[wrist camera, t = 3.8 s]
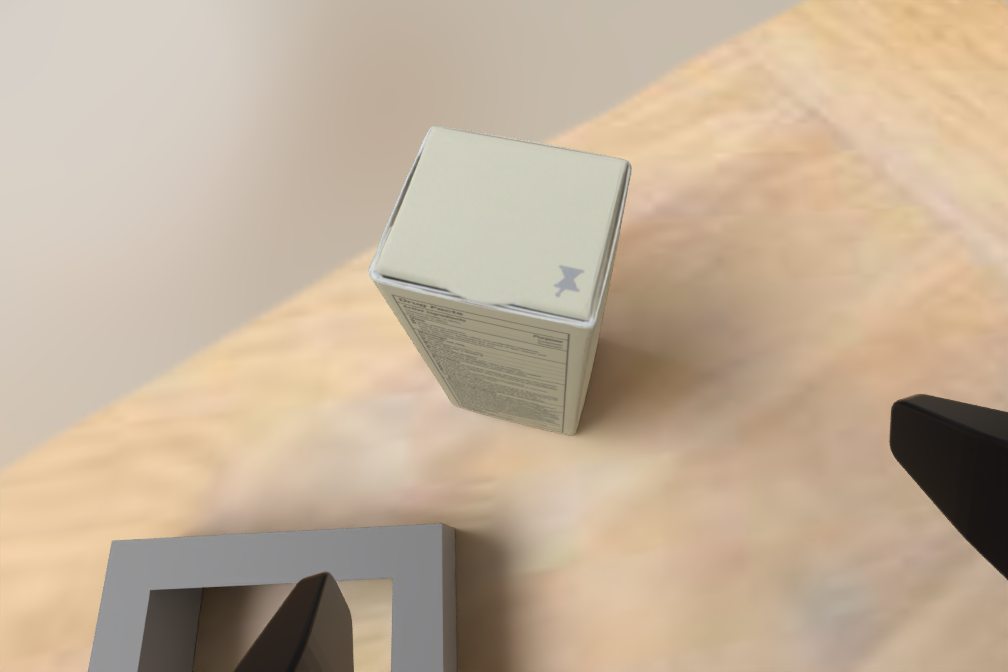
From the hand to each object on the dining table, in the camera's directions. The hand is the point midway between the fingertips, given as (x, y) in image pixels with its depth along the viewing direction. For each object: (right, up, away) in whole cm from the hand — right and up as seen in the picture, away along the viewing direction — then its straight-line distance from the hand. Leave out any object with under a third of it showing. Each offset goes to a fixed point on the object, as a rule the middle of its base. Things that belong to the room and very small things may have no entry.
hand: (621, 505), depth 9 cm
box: (-1, +1, +14) cm, 14 cm away
